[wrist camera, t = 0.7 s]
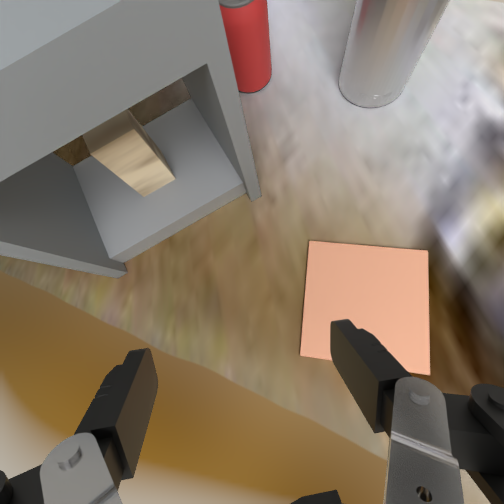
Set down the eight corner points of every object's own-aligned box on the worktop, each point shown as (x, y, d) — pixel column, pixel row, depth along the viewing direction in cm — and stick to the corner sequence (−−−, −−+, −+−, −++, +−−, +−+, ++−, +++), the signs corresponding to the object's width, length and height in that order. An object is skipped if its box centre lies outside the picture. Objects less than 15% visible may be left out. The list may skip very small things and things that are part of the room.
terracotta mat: (309, 242, 34) (309, 240, 34) (425, 251, 32) (427, 250, 31) (299, 354, 31) (300, 355, 31) (427, 373, 29) (430, 375, 28)
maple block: (130, 169, 37) (74, 118, 27) (161, 151, 37) (116, 94, 27) (143, 197, 35) (90, 154, 26) (175, 178, 35) (133, 128, 26)
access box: (79, 181, 41) (-236, -16, 16) (207, 108, 41) (84, -202, 16) (117, 278, 37) (-238, 207, 12) (261, 196, 36) (207, -50, 12)
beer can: (241, 102, 40) (222, 17, 29) (224, 72, 42) (200, -18, 31) (279, 82, 40) (275, -10, 29) (260, 54, 42) (250, -45, 30)
